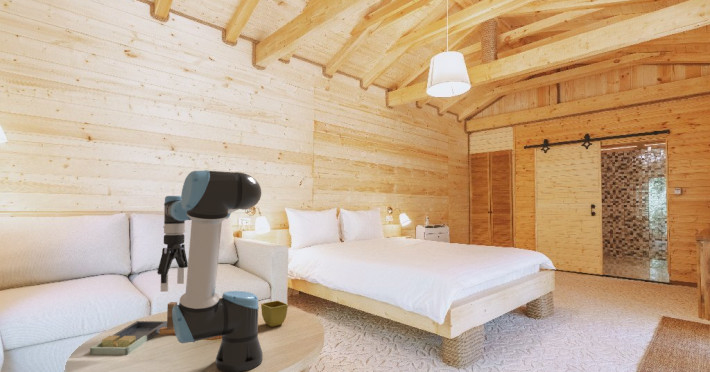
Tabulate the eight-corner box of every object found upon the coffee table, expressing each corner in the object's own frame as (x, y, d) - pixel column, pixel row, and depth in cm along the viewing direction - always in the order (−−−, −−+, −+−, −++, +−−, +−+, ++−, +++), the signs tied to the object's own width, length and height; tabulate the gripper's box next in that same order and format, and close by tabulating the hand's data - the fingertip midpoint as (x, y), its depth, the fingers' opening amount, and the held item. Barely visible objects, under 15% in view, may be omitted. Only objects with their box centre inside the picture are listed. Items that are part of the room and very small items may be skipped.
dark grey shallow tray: (146, 343, 140) (147, 335, 140) (112, 343, 140) (112, 335, 140) (167, 328, 156) (167, 321, 156) (136, 328, 156) (136, 321, 156)
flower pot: (277, 319, 169) (278, 300, 169) (288, 325, 162) (288, 304, 163) (260, 324, 163) (260, 303, 163) (270, 329, 156) (270, 308, 157)
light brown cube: (128, 351, 132) (129, 340, 132) (117, 351, 132) (117, 339, 132) (135, 346, 136) (135, 335, 136) (124, 346, 136) (124, 335, 136)
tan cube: (112, 351, 132) (113, 339, 132) (101, 351, 132) (102, 339, 132) (120, 346, 136) (120, 335, 136) (109, 346, 136) (109, 335, 136)
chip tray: (127, 357, 128) (127, 348, 128) (89, 356, 128) (90, 348, 128) (146, 343, 140) (147, 335, 140) (112, 343, 140) (112, 335, 140)
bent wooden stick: (180, 337, 147) (181, 304, 147) (159, 337, 147) (160, 303, 147) (183, 334, 150) (184, 302, 150) (162, 334, 150) (163, 302, 150)
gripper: (179, 231, 162) (178, 280, 161) (147, 236, 137) (146, 295, 136) (196, 231, 162) (195, 280, 161) (168, 236, 137) (167, 295, 136)
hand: (173, 287), depth 149 cm, fingers open, 13 cm apart
